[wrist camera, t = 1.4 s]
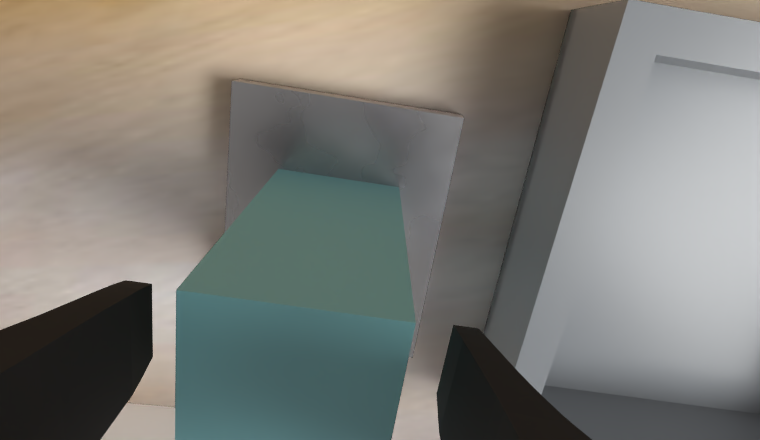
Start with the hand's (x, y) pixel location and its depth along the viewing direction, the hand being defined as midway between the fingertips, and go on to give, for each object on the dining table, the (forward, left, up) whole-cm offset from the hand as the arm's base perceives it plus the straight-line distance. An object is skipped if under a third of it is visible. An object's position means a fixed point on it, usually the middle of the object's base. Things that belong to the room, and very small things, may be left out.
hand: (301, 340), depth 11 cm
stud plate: (0, 0, -8) cm, 8 cm away
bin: (+1, -15, -8) cm, 17 cm away
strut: (0, 0, -7) cm, 7 cm away
